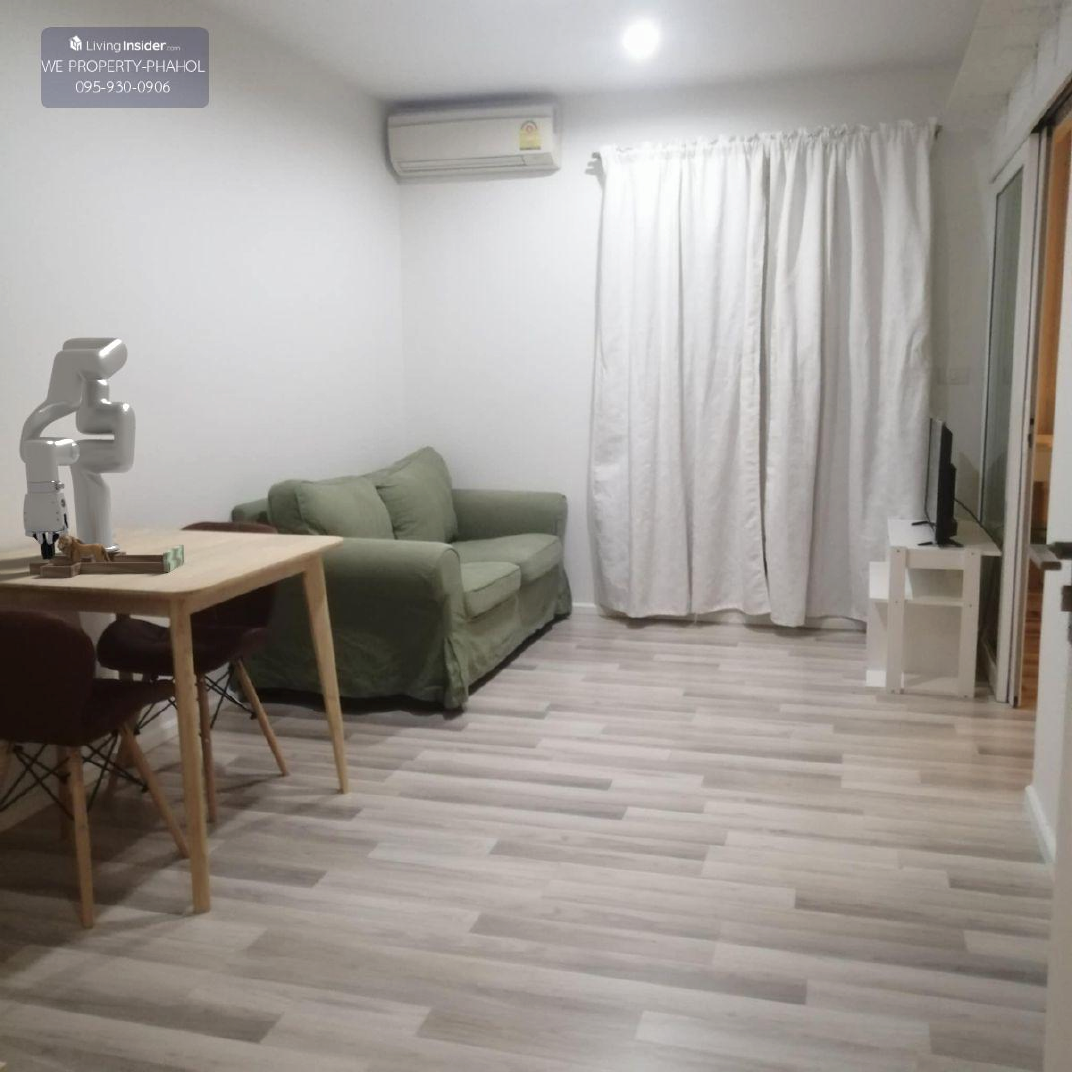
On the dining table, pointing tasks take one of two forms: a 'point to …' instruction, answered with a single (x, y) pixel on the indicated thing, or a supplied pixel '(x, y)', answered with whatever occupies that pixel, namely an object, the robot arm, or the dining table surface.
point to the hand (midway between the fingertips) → (48, 558)
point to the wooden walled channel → (111, 564)
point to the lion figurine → (81, 549)
